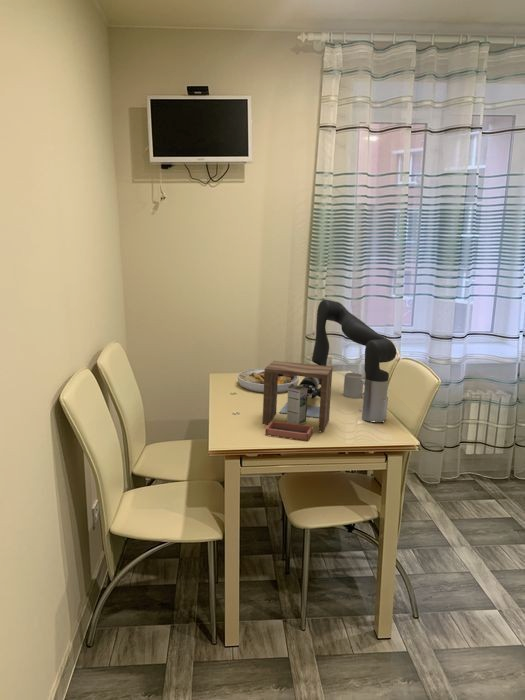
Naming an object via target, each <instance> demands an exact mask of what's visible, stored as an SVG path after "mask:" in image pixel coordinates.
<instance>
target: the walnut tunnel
mask: <svg viewBox="0 0 525 700" xmlns="http://www.w3.org/2000/svg"><path fill="white" fill-rule="evenodd" d="M333 368H334V367H333V366H330V365H326V366H322V365H318V364H309V363H301V362H291V361H279V360H273V361H271V362H270V363H269V364H268V365H267V366H266V367H264V369H265V371H264V393H263V402H262V404H263V405H262V424H265V425H264V426H268V425H269V424H270V423H269V422H271V421H273V419H274V417H275V416H276V415H277V406H278V405H277V403H278V400H277V399H278V393H277V383H278V374H284V375H294V376H298V377H304V378H305V377H313V378H322V380H321V385H320V388H321V397H319V399H320V401H319V406H320V413H319V419H318V430H317V431H321V432H320V433H323V432H325V430H326V428H327V426H328V424H329V422H330V412H331V397H332V396H331V395H332V380H333V379H332V378H333ZM328 421H329V422H328Z"/></svg>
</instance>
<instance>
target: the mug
mask: <svg viewBox="0 0 525 700" xmlns="http://www.w3.org/2000/svg"><path fill="white" fill-rule="evenodd" d="M364 385H365V374H362V373H359V372H346V373H345V374H344V383H343V396H344V397H346V398H351V399H359V398H363V396H364Z"/></svg>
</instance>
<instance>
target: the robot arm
mask: <svg viewBox="0 0 525 700" xmlns="http://www.w3.org/2000/svg"><path fill="white" fill-rule="evenodd" d="M327 321H331V322H335V323H337V324H339V325H340V327H341V332H342V334H344V336H345V337H346V338H348V339H349V340H351V341H352V343H353V342H354V343H356V344H358V345H362V346H365V349H364V380H365V384H364V386H363V393H364V395H363V400H362V402H363V403H362V413H361V419H362V418H363V419H364V420H363V419H362V420H363V421H365V420H367V421H375V422H383V421H384V420H385V419H386V420H387V412H388V405H389V403H388V402H389V397H388V391H389V390H388V387H389V379H390V374H389V372H387V371H386V370H384V369H381V368H380V364H381V363H389V362H391V361H393V360H394V359H396V356H397V348H396V345H395V344H394V343H393V341H392V340H390V339H389V338H387V337H386V336H383V335H381V334H380V333H378V332H377V331H375V330H374V329H372V327H370V326H369V325H367V324H366V323H365V322H364V321H363V320H361V319H359V318H358V317H357V316H356V315H354V314H352V313H351V312H350V311H349V310H348V309H347V308H346V307H345V306H344V305H343V304H342V303H341V302H339V301H335V300H330V299H322V300H321V301H320V302H319V304H318V306H317V311H316V322H315V323H316V324H315V327H316V328H315V340H314V345H313V346H314V348H313V351H312V356H311V362H312V363H314V364H315V365H322V366H328V365H327V362H328V357H329V351H330V343H329V339H328V335H327V330H326V328H327V327H326V324H327ZM321 380H322V378H313V377H304V378H303V379H302V380H301V381H300V383H298V386H303V387H306V388H308V390H307V397H310V398H311V400H313V399H314V398H315V399H316V397H318V398H320V397H321V387H319V386H321ZM293 386H294V384H291V385H290V386H289V387H288V388H291V387H293ZM386 420H385V421H386ZM367 421H366V422H367ZM385 421H384V422H385ZM384 422H383V423H384Z"/></svg>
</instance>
